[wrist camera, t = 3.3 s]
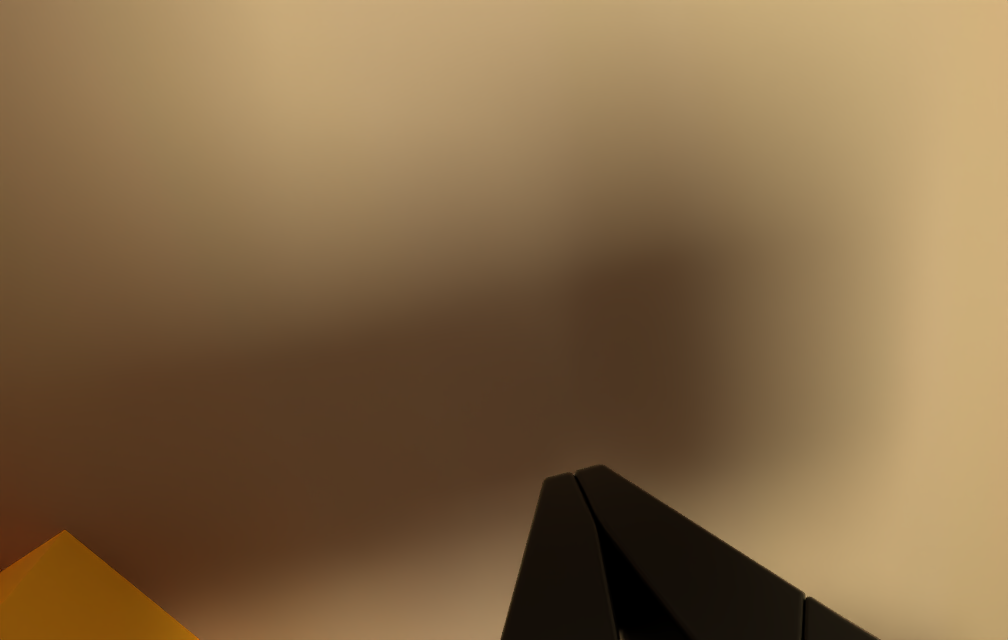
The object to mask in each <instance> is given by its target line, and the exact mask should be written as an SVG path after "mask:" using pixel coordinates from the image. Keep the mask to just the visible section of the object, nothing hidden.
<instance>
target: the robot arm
mask: <svg viewBox="0 0 1008 640" xmlns="http://www.w3.org/2000/svg"><path fill="white" fill-rule="evenodd" d="M501 640H880V639H879V638H877V637H875V636H874V635H872V634H870V633H869V632H867V631H865V630H864V629H862V628H860V627H859V626H857V625H855V624H854V623H852V622H850V621H849V620H847V619H846V618H844V617H842V616H841V615H839V614H837V613H836V612H834V611H833V610H831V609H830V608H828V607H826V606H825V605H823V604H822V603H820V602H819V601H817V600H815V599H814V598H812V597H807V598H805V594H804V592H802V591H801V590H799V589H798V588H796V587H795V586H793V585H791V584H790V583H788V582H787V581H785V580H784V579H782V578H781V577H779V576H777V575H776V574H774V573H773V572H771V571H770V570H768V569H766V568H765V567H763V566H762V565H760V564H759V563H757V562H755V561H754V560H752V559H751V558H749V557H748V556H746V555H744V554H743V553H741V552H740V551H738V550H737V549H735V548H733V547H732V546H730V545H729V544H727V543H726V542H724V541H723V540H721V539H719V538H718V537H716V536H715V535H713V534H712V533H710V532H708V531H707V530H705V529H704V528H702V527H701V526H699V525H697V524H696V523H694V522H693V521H691V520H690V519H688V518H686V517H685V516H683V515H682V514H680V513H679V512H677V511H675V510H674V509H672V508H671V507H669V506H668V505H666V504H665V503H663V502H661V501H660V500H658V499H657V498H655V497H654V496H652V495H650V494H649V493H647V492H646V491H644V490H643V489H641V488H639V487H638V486H636V485H635V484H633V483H632V482H630V481H628V480H627V479H625V478H624V477H622V476H621V475H619V474H617V473H616V472H614V471H613V470H611V469H610V468H608V467H607V466H605V465H596V466H592V467H588V468H584V469H580V470H577V471H576V472H575V476H574V475H573V474H572V473H570V472H569V473H564V474H560V475H556V476H552V477H548V478H546V479H545V480H544V481H543V484H542V488H541V492H540V495H539V499H538V503H537V506H536V510H535V514H534V517H533V521H532V525H531V529H530V532H529V536H528V540H527V543H526V547H525V551H524V555H523V558H522V562H521V566H520V569H519V573H518V577H517V581H516V584H515V588H514V592H513V595H512V599H511V603H510V606H509V610H508V614H507V618H506V621H505V625H504V629H503V632H502V636H501Z"/></svg>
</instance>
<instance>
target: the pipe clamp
mask: <svg viewBox="0 0 1008 640" xmlns="http://www.w3.org/2000/svg"><path fill="white" fill-rule="evenodd" d="M0 640H200V639H198V638H197V637H196V636H195V635H194V634H192V633H191V632H190V631H189V630H187V629H186V628H185V627H184V626H182V625H181V624H180V623H179V622H178V621H176V620H175V619H174V618H173V617H171V616H170V615H169V614H168V613H167V612H165V611H164V610H163V609H162V608H160V607H159V606H158V605H157V604H156V603H154V602H153V601H152V600H151V599H149V598H148V597H147V596H146V595H145V594H143V593H142V592H141V591H140V590H138V589H137V588H136V587H135V586H134V585H132V584H131V583H130V582H129V581H127V580H126V579H125V578H124V577H123V576H121V575H120V574H119V573H118V572H116V571H115V570H114V569H113V568H112V567H110V566H109V565H108V564H107V563H105V562H104V561H103V560H102V559H101V558H99V557H98V556H97V555H96V554H94V553H93V552H92V551H91V550H90V549H88V548H87V547H86V546H85V545H83V544H82V543H81V542H80V541H78V540H77V539H76V538H75V537H74V536H72V535H71V534H70V533H69V532H67V531H66V530H63V531H62V532H60V533H59V534H57V535H56V536H54V537H53V538H51V539H50V540H48V541H47V542H45V543H44V544H42V545H41V546H39V547H38V548H36V549H35V550H33V551H32V552H30V553H29V554H27V555H26V556H24V557H23V558H21V559H20V560H18V561H17V562H15V563H13V564H12V565H10V566H9V567H7V568H6V569H4V570H3V571H1V572H0Z"/></svg>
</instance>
